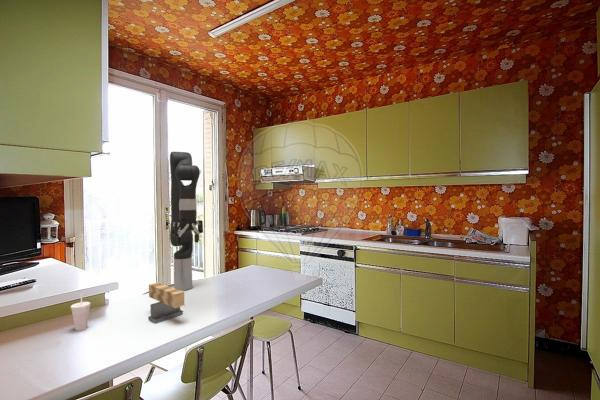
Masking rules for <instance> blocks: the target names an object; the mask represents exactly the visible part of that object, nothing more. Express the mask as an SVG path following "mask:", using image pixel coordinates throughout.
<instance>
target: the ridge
mask: <svg viewBox="0 0 600 400" xmlns="http://www.w3.org/2000/svg"><path fill="white" fill-rule="evenodd" d="M183 314H184V313H183V310H182V309H181V306H180V307H177V308H174V307H171V306H169V305H167V304H164V303H162V302H160V301H158V302H155V303H150V315H149V316H148V317H147V318H148V321H149V322H151V323H154V324H155V325H156V324H159V323H162V322H165V321H168V320H170V319H173V318H174V319H175V318H176V317H179V316H182V315H183Z"/></svg>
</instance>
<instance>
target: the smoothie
mask: <svg viewBox="0 0 600 400" xmlns="http://www.w3.org/2000/svg"><path fill="white" fill-rule="evenodd" d="M79 294H80V301H79V302H77V303H76V302H75V303H73V304H72V305H71V304H70V310H71V313H72V319H73V323H74V328H75V331H76V332H81V331H84V330H86V329H88V323H89V316H90V315H89V314H90V307H91V302H90V301H83V293H79Z"/></svg>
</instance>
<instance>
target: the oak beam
mask: <svg viewBox="0 0 600 400" xmlns="http://www.w3.org/2000/svg"><path fill="white" fill-rule="evenodd" d="M148 297H149V298H150V299H152V300H156V301H158V302H162V303H164V304H167V305H169V306H171V307H174V308H177V307H180V308H181V307H184V306H185V291H180V290H178V289H175V288H174V287H172V286H170V285H169V286H168V285H166V284H163V283H161V282H154V283H150V284H148Z"/></svg>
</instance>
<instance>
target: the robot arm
mask: <svg viewBox="0 0 600 400" xmlns="http://www.w3.org/2000/svg"><path fill="white" fill-rule="evenodd" d="M192 158H193V157H192V155H191V153H190V152H187V151H186V152H185V151H170V154H169V167H170V207H171V212H170V213H171V214H170V215H171V217H170V229H169V230H170V231H169V240H170V244H171V246H173V247H180V249H178V250H177V251H175V252H174V253H173V288H175V289H178V290H180V291H183V292H185V291H189V290H191V289H192V288H193V262H192V261H193V260H192V259H193V258H192V255H193V250H194V248H193V245H194V243H196V244H197V243H199V242H200V235H201V234H202V233H204V222H203V220H202V219H198V220H197V215H198V214H197V213H198V212H197V210H198V209H197V194H196V193H197V185H198V181H199V177H200V174H201V170H200V167H198V165H193V159H192ZM183 181H185V182H186V181H188V182H189V181H190V183H189V184H187V185H184V183H183ZM196 225H197V226H196ZM193 235H194V236H193Z"/></svg>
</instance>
